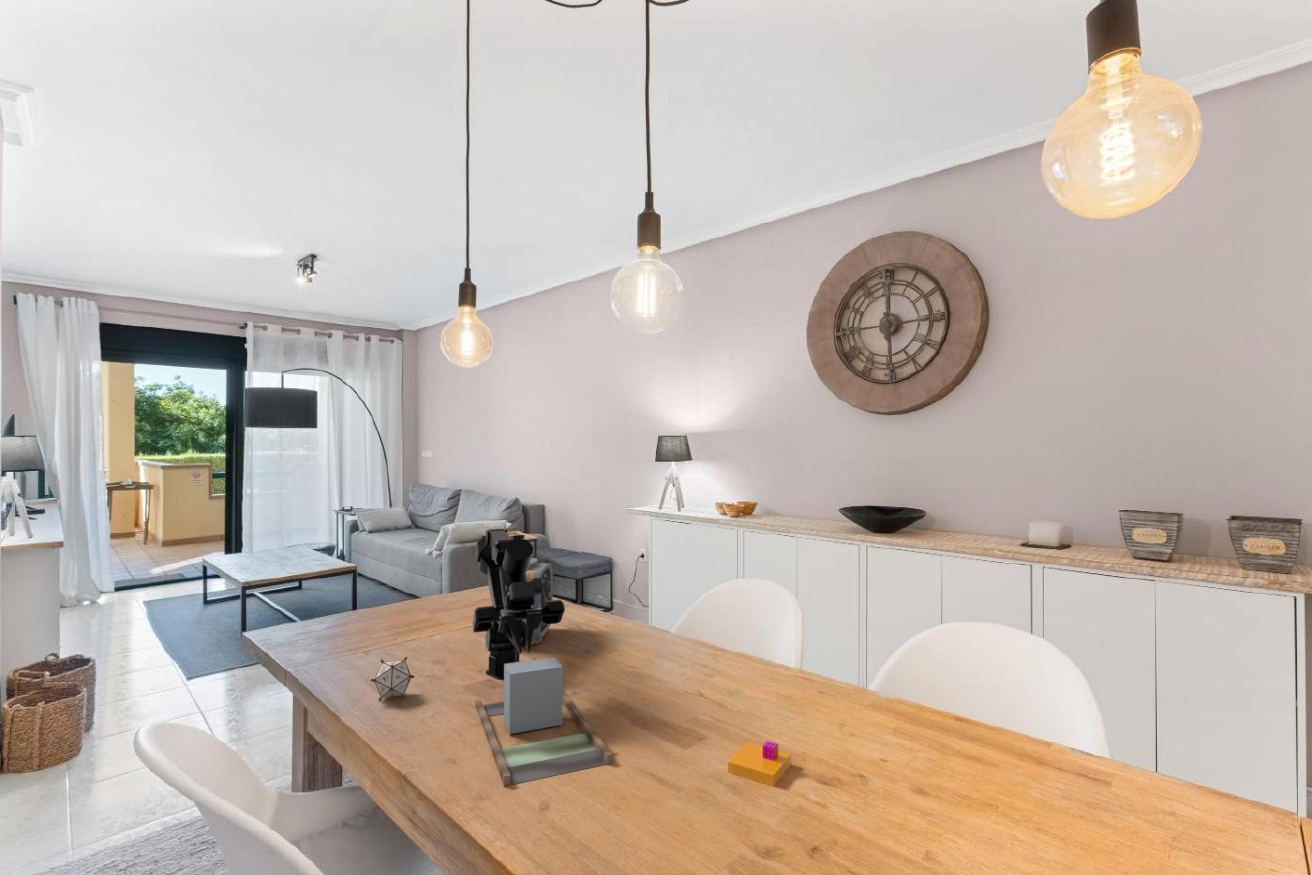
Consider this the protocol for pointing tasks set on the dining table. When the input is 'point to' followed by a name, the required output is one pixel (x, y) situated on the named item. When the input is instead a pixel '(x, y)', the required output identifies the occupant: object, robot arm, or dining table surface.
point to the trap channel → (544, 749)
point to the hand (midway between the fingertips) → (524, 652)
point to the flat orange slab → (760, 763)
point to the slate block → (532, 694)
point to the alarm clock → (547, 578)
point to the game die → (392, 678)
